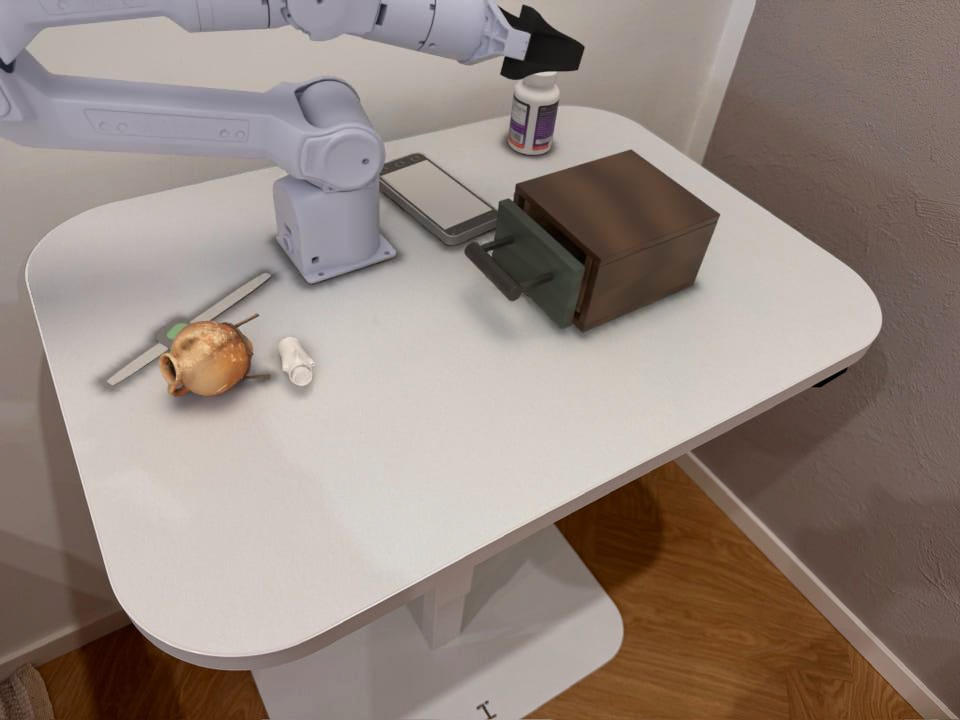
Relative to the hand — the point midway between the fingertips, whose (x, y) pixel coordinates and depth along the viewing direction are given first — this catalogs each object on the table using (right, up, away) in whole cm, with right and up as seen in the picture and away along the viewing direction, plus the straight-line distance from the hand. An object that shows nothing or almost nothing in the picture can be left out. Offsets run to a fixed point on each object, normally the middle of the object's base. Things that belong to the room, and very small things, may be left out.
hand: (557, 49), depth 67 cm
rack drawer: (+1, -20, +5) cm, 21 cm away
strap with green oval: (-33, -24, -2) cm, 41 cm away
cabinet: (+5, -19, +8) cm, 21 cm away
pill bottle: (-1, -2, +24) cm, 24 cm away
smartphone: (-12, -11, +14) cm, 21 cm away
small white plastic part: (-22, -29, -5) cm, 37 cm away
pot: (-31, -28, -6) cm, 42 cm away
